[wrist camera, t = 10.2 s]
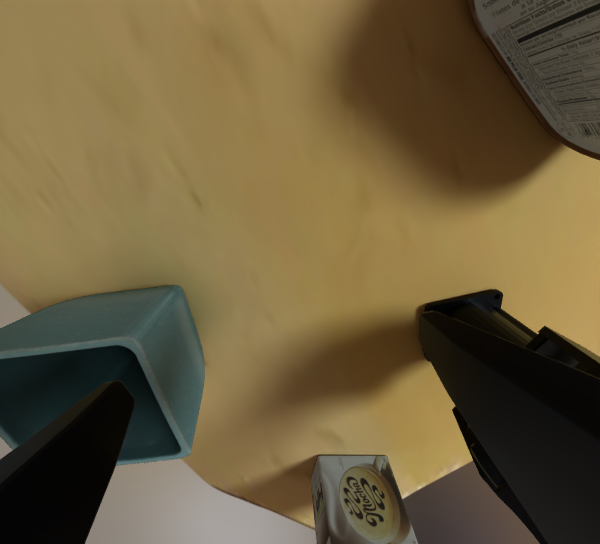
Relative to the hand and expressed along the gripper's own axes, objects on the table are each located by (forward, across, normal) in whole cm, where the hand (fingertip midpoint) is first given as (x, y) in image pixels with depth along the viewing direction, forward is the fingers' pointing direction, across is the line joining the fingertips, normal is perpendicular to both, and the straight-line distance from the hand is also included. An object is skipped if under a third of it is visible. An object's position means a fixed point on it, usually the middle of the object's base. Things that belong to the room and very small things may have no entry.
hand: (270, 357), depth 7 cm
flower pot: (+12, +11, +4) cm, 17 cm away
